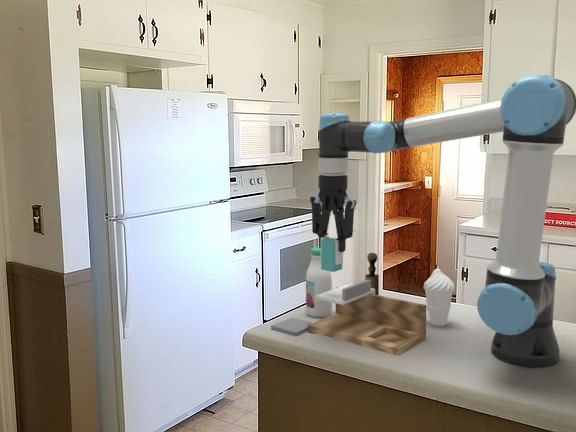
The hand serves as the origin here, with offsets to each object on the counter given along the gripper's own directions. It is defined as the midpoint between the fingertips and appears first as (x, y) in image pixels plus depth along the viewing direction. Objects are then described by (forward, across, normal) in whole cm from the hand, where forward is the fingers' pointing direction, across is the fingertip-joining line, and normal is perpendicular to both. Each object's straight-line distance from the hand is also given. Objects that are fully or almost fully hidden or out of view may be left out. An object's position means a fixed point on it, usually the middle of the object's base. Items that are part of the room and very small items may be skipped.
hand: (331, 261), depth 151 cm
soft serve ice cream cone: (+20, -19, -24) cm, 37 cm away
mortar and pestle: (+20, +2, -23) cm, 31 cm away
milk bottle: (+20, +12, -11) cm, 26 cm away
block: (+2, 0, 0) cm, 2 cm away
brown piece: (+20, -8, -4) cm, 22 cm away
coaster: (+20, +10, +3) cm, 23 cm away
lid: (+17, -2, -5) cm, 18 cm away
